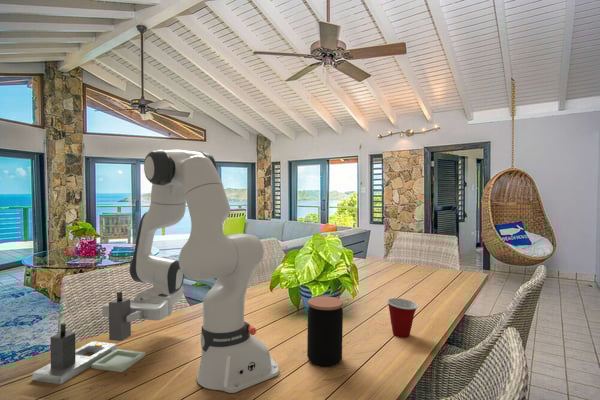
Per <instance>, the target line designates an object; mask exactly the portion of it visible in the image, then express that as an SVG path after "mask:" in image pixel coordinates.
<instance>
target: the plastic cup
mask: <svg viewBox="0 0 600 400" xmlns="http://www.w3.org/2000/svg"><path fill="white" fill-rule="evenodd" d="M386 302H387V304H388V311H389V317H390V324H391V331H392V335H393V336H395V337H397V338H401V339H407V338H409V337H410V335H411V332H412V331H411V330H412V326H413V322H414V316H415V314H416V310H417V309H418V307H419V305H418V303H416V302H414V301H412V300H409V299H405V298H400V297H399V298H398V297H390V298H387V300H386Z"/></svg>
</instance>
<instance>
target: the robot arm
mask: <svg viewBox="0 0 600 400" xmlns="http://www.w3.org/2000/svg"><path fill="white" fill-rule="evenodd" d="M217 168H218V167H217V162H216V159H215V158H214V156H213V155H212V154H210V153H208V152H205V151H194V150H193V151H192V150H183V149H168V150H167V149H166V150H165V149H164V150H163V149H157V150H153V151H150V152H148V153H147V155H146V156H145V158H144V162H143V171H144V172H143V173H144V176H145V178H146V179H147V181H148V182H149V183H150V184H152V185H151V191H150V205H149V208H148V210H147V211H146V212H145V213H143V214H142V217H141V219H140V221H139V225H138V230H137V235H136V240H135V246H134V251H133V256H132V259H131V261H130V264H129V272H128V273H129V274H130V275H129V276H130V277H131V278H132V280H133V281H134V282H136V283H142V284H150V285H152V287H150V288H148V289H146V290H144V291H141V292H139V293H137V294H136V295H135V297H134V299H130V311H131V314H127V315H125V316H124V321H125V322H130V321H131V322H132V321H135V320H144V321H145V320H146V321H160V320H161V321H162V320H163V319H165V318H167V317H170V316H171V315H172V309H173V308H172V307H173V306H175V304H177V303H178V302H179V301H180V299H181V298H182V297H183V294H184V286H183V284H184V280H185V279H184V278H185V277H186V278H187V279H188V280H190V281H191V280H192V281H209V280H213V279H216V281H215V282H214V284H213V286H212V287H211V289H209V290H208V292H206V294H205V295H204V298H203V302H202V303H203V304H202V307H203V309H202V310H203V311H202V312H203V313H202V314H203V315H202V321H203V322H202V326H201V332H200V346H201V347H200V348H201V355H200V356H201V357H200V364H199V368H198V371H197V376H196V382H197V383H198V384H199V385H200V386H201V387H203V388H205V389H209V390H215V391H223V392H226V393H229V394H235V393H237V392H239V391H242V390H244V389H247V388H249V387H252V386H254V385H257V384H259V383H262V382H264V381H268V380H269V379H271V378H274V377H277V376H279V374H280V368H279V365H278V363H277V362H276V361H275V359H273V357H271V353H270V351H269V349H268V347H267V345H266V344H265V343H264V342H263V341H261V340H260V339H259V338H256V337H255V336H254V335H256V333H257V328H256V327H255V326H254V325H251V324H250V323H248V322H247V321H245V302H246V294H247V290H248V286H249V283H250V280H251V278H252V276H253V274H254V272H255V269H257V267H258V266H259V265H260V264H261V262H262V261H263V259H264V254H265V253H264V247H263V242H262V241H261V239H259V237H258V236H257V235H254V234H249V233H241V232H240V233H233V234H224V230H223V224H224V222H225V221H226V220H227V219H228V217H229V215H230V213H231V205H230V203H229V200H228V197H227V193H226V191H225V188H224V185H223V182H222V179H221V177H220V175H219V173H218V170H217ZM186 204H187V205H186ZM186 206H187V207H188V208H187V209H188V212H189V218H190V222H191V225H190V226H191V228H190V234H189V237H188V239H187V241H186V243H185V244H184V245H183V247H182V248H181V250H180V252H179V255H178V260H175V259H171V258H168V257H166V258H165V257H161V256H157V255H154V254H153V252H152V247H153V243H154V237H155V233H156V232H157V230H160V229H164V228H169V227H173V226H174V225H176V224H178V223H180V222H181V221H182V220H183V218H184V216H185V213H186ZM101 309H102V310H101V311H102V316H103V317H105V318H107V320H108V321H109V302H107V303H104V304H103V305H102V307H101Z"/></svg>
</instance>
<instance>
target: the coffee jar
mask: <svg viewBox="0 0 600 400" xmlns="http://www.w3.org/2000/svg"><path fill="white" fill-rule="evenodd" d="M307 304H308V306H309V307H308V308H307V338H306V339H307V345H306V346H307V347H306V348H307V350H306V353H307V354H306V356H307V358H308V360H309V362H310V363H311V364H312V365H314V366H316V367H319V368H333V367H335V366H337V365H340V363H341V361H342V359H343V330H344V329H343V327H344V326H343V324H344V322H343V319H344V318H343V317H344V309H343V308H342V307H343V305H344V301H343V300H342V299H341V298H338V297H334V296H328V295H327V296H325V295H321V296H314V297H311V298H309V299H308V301H307Z"/></svg>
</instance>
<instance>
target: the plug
mask: <svg viewBox="0 0 600 400" xmlns="http://www.w3.org/2000/svg"><path fill="white" fill-rule="evenodd" d="M130 300H131V298H123V292H122V291H118V292H116V299H112V300H111V301H108V303H109V320H108V332H109V334H108V338H109V339H108V340H109V341H114V342H122V341H124V340H126V339H128V338H130V337H131V336H132V333H131V332H132V331H131V330H132V329H131V328H132V326H131V322H132V321H130V322H125V321H124V316H125V315H127V314H131V311H130Z"/></svg>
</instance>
